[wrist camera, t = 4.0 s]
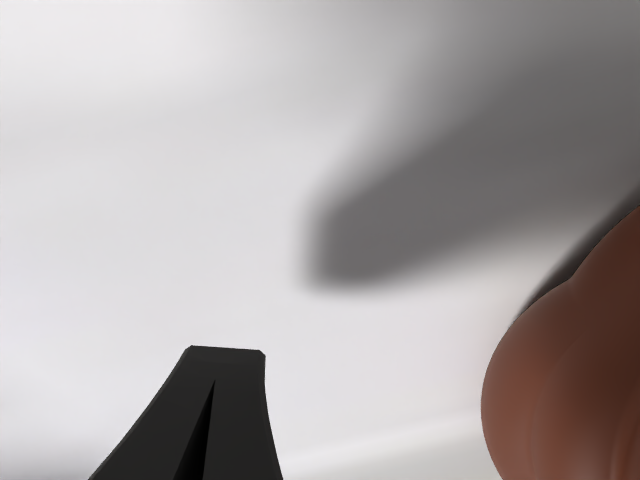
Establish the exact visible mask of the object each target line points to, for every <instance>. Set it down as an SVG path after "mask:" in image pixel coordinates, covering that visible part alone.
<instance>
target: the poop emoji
mask: <svg viewBox="0 0 640 480" xmlns="http://www.w3.org/2000/svg"><path fill="white" fill-rule="evenodd" d="M481 419H482V427H483V432H484V437H485V441H486V444H487V448H488V450H489V453H490V456H491V458H492V461H493V463H494V465H495V467H496V469H497V471H498V472H499V474H500V476H501V477H502V479H503V480H640V206H638V207H637V208H636V209H634V210H633V211H632V212H631V213H629V214H628V215H627V216H626V217H625V218H623V219H622V220H621V221H620V222H619V223H618V224H617V225H616V226H615V227H613V228H612V229H611V230H610V231H609V232H608V233H607V234H606V235H605V236H604V237H603V238H602V239H601V240H600V242H599V243H598V244H597V245H596V246H595V247H594V248H593V249H592V251H591V252H590V253H589V254H588V256H587V257H586V258H585V259H584V260H583V262H582V263H581V265H580V266H579V267H578V269H577V270H576V271H575V273H574V274H573V276H572V277H571V278H570V279H568V280H567V281H565V282H563V283H562V284H560V285H558V286H557V287H555V288H553V289H552V290H550V291H549V292H547V293H546V294H545V295H543V296H542V297H541V298H539V299H538V300H537V301H536V302H534V303H533V304H532V305H531V306H530V307H529V308H528V309H527V310H525V311H524V312H523V313H522V314H521V315H520V316H519V317H518V319H517V320H516V321H515V322H514V323H513V324H512V325H511V327H510V328H509V329H508V331H507V332H506V333H505V335H504V336H503V338H502V339H501V341H500V342H499V344H498V346H497V348H496V349H495V351H494V353H493V355H492V358H491V360H490V362H489V365H488V368H487V371H486V375H485V378H484V382H483V388H482V396H481Z"/></svg>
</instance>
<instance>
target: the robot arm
mask: <svg viewBox="0 0 640 480" xmlns="http://www.w3.org/2000/svg"><path fill="white" fill-rule="evenodd" d="M265 357H266V356H265V355H264V354H263V353H262V352H261V351H260V350H251V349H236V348H222V347H207V346H193V345H191V346H190V347H188V348H187V349H185V351H184V352H183V354H182V356H181V357H180V359H179V361H178V362H177V364H176V366H175V367H174V369H173V370H172V372H171V373H170V375H169V376H168V378H167V379H166V381H165V382H164V384H163V385H162V387H161V388H160V390H159V391H158V392H157V394H156V395H155V397H154V398H153V399H152V401H151V402H150V404H149V405H148V406H147V408H146V409H145V410H144V412H143V413H142V414H141V415H140V417H139V418H138V419H137V421H136V422H135V423H134V425H133V426H132V427H131V429H130V430H129V431H128V432H127V434H126V435H125V436H124V438H123V439H122V440H121V441H120V443H119V444H118V445H117V446H116V447H115V449H114V450H113V451H112V452H111V453H110V454H109V456H108V457H107V458H106V459H105V460H104V461H103V463H102V464H101V465H100V466H99V467H98V468H97V470H96V471H95V472H94V473H93V474H92V475H91V477H90V478H89V479H88V480H283V477H282V474H281V470H280V466H279V462H278V458H277V454H276V449H275V445H274V440H273V436H272V431H271V427H270V421H269V416H268V409H267V402H266V394H265Z"/></svg>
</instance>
